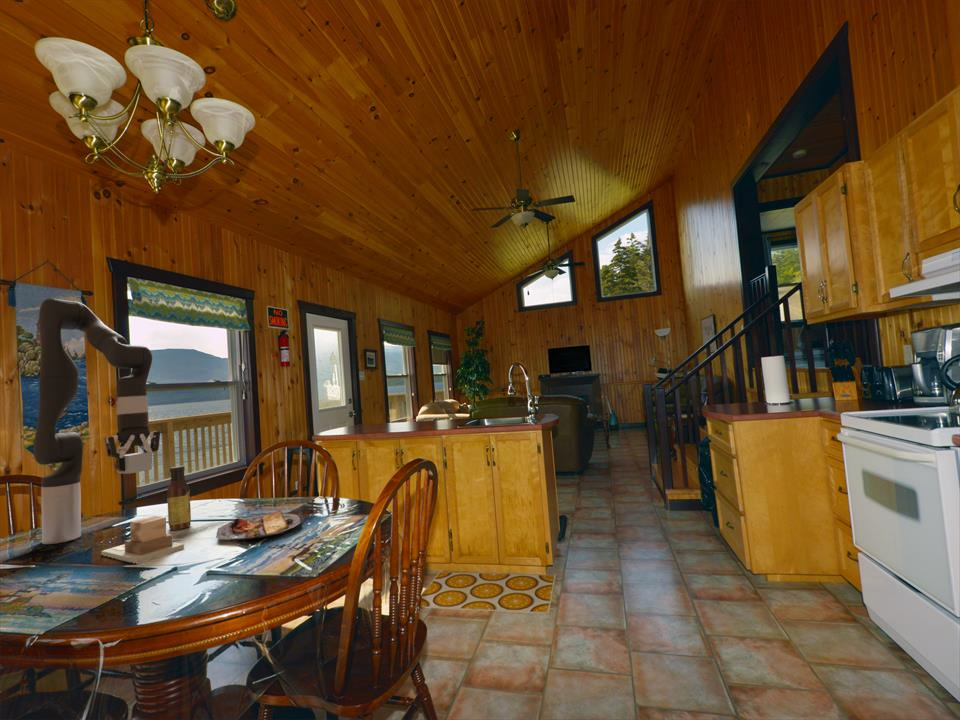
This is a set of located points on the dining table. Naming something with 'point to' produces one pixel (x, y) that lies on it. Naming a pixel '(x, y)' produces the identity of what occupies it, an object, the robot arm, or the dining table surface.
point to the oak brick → (148, 528)
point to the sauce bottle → (178, 500)
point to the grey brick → (137, 463)
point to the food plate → (258, 526)
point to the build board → (129, 557)
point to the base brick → (148, 545)
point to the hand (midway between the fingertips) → (134, 468)
